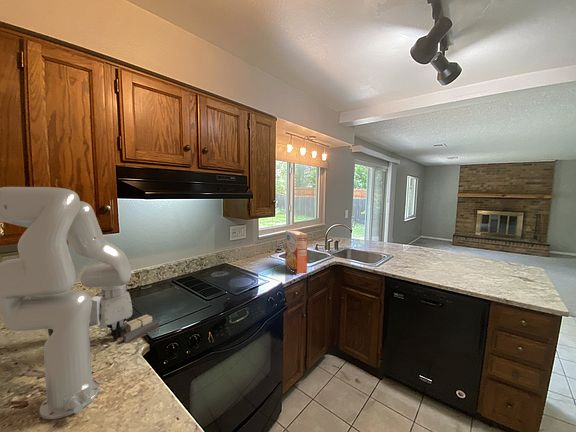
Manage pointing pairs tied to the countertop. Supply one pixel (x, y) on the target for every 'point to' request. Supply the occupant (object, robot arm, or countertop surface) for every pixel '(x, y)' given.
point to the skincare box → (95, 310)
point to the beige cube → (145, 320)
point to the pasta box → (296, 251)
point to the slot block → (138, 331)
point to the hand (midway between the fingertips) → (116, 336)
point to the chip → (133, 325)
